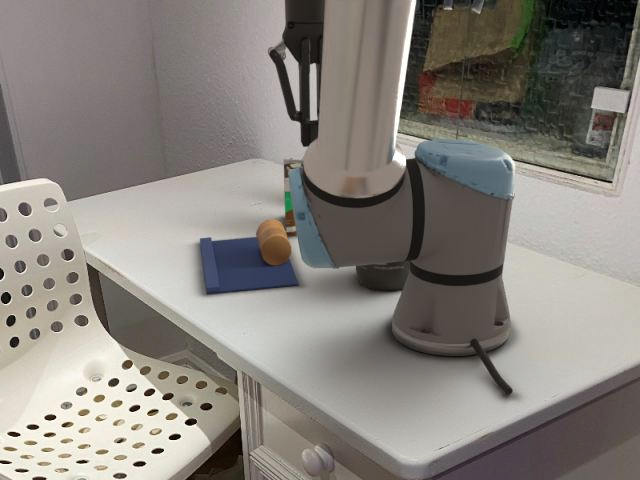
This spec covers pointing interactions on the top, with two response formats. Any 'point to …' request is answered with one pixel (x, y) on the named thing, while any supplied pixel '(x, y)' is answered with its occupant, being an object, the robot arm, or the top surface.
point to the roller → (273, 242)
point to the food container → (289, 196)
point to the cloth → (241, 267)
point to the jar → (384, 275)
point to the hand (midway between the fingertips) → (314, 167)
